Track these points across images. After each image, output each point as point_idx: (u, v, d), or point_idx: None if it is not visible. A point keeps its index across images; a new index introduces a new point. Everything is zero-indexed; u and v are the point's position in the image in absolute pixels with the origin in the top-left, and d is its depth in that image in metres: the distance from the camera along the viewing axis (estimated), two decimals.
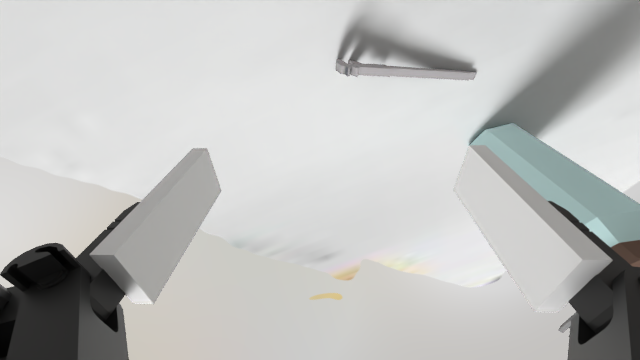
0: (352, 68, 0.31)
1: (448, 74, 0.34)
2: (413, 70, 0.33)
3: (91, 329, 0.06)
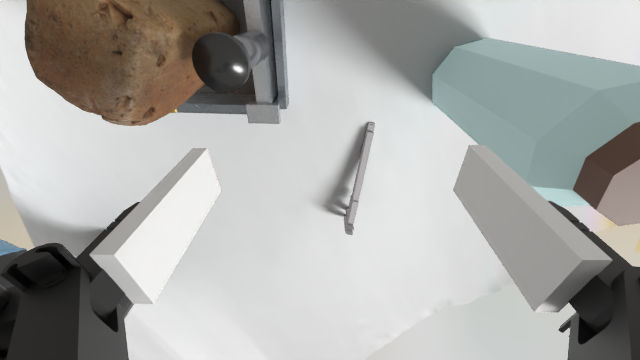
0: None
1: (365, 153, 0.39)
2: (357, 183, 0.41)
3: (91, 329, 0.06)
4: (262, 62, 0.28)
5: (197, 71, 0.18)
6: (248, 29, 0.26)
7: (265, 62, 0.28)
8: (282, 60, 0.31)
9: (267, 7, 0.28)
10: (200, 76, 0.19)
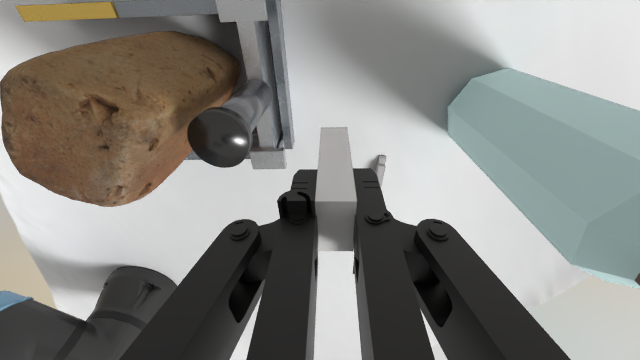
0: None
1: None
2: None
3: (312, 276, 0.07)
4: (265, 109, 0.26)
5: (194, 149, 0.17)
6: (248, 78, 0.25)
7: (268, 109, 0.27)
8: (286, 102, 0.29)
9: (268, 50, 0.27)
10: (197, 153, 0.17)
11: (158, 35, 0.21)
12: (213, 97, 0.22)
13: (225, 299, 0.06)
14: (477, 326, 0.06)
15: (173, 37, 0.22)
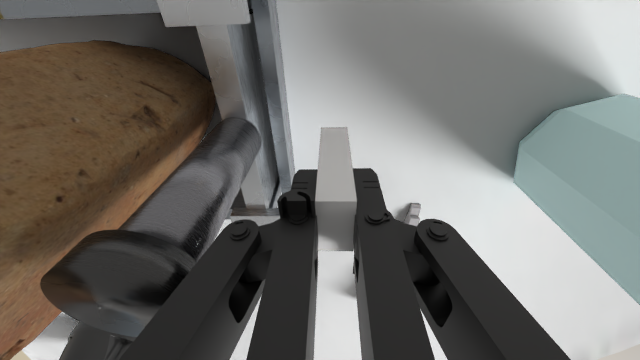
0: None
1: None
2: None
3: (312, 276, 0.07)
4: None
5: (72, 315, 0.07)
6: (223, 116, 0.15)
7: (256, 158, 0.17)
8: (284, 142, 0.20)
9: (256, 68, 0.17)
10: (83, 321, 0.08)
11: (52, 51, 0.12)
12: (157, 156, 0.13)
13: (226, 298, 0.06)
14: (477, 326, 0.05)
15: (88, 53, 0.13)
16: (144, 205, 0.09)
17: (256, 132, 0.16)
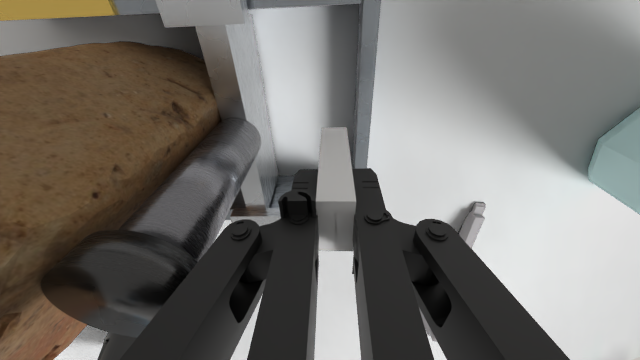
0: None
1: None
2: None
3: (313, 276, 0.07)
4: None
5: (73, 315, 0.07)
6: (222, 116, 0.15)
7: (256, 158, 0.17)
8: (367, 140, 0.20)
9: (255, 68, 0.17)
10: (84, 321, 0.08)
11: (82, 50, 0.11)
12: (186, 154, 0.12)
13: (226, 299, 0.06)
14: (476, 326, 0.06)
15: (115, 52, 0.13)
16: (144, 205, 0.09)
17: (256, 132, 0.16)
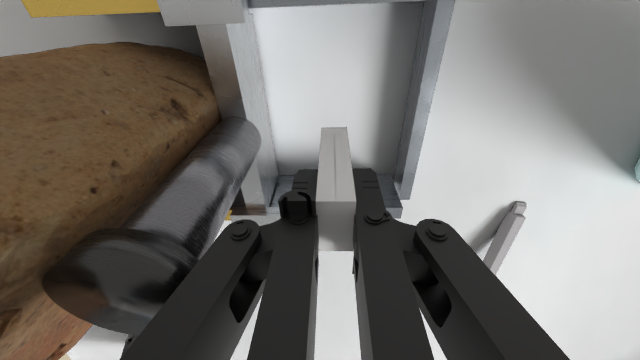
0: None
1: (506, 243, 0.27)
2: None
3: (313, 276, 0.07)
4: None
5: (74, 313, 0.08)
6: (223, 115, 0.15)
7: (256, 157, 0.17)
8: (421, 139, 0.19)
9: (255, 67, 0.17)
10: (85, 319, 0.08)
11: (80, 50, 0.11)
12: (186, 150, 0.12)
13: (226, 299, 0.06)
14: (476, 326, 0.05)
15: (114, 51, 0.13)
16: (145, 204, 0.09)
17: (256, 131, 0.16)
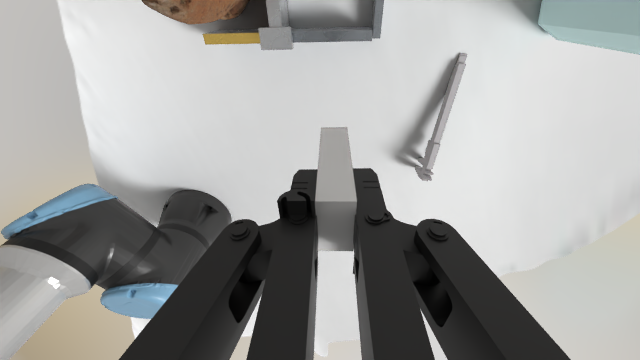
0: (426, 174, 0.43)
1: (453, 88, 0.37)
2: (440, 123, 0.40)
3: (312, 276, 0.07)
4: None
5: None
6: None
7: None
8: None
9: None
10: None
11: None
12: None
13: (225, 298, 0.06)
14: (477, 326, 0.05)
15: None
16: None
17: None
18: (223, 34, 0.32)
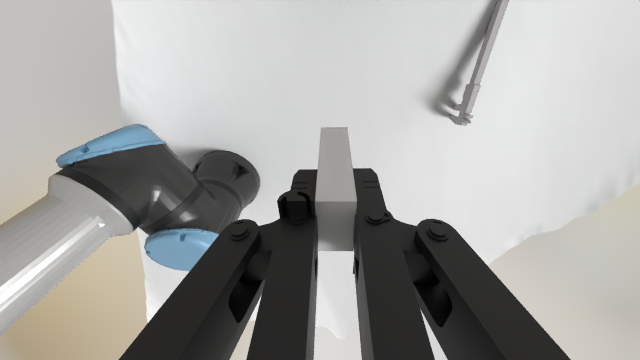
0: (465, 117, 0.43)
1: (496, 25, 0.38)
2: (481, 63, 0.40)
3: (312, 276, 0.07)
4: None
5: None
6: None
7: None
8: None
9: None
10: None
11: None
12: None
13: (225, 299, 0.06)
14: (477, 326, 0.05)
15: None
16: None
17: None
18: None
